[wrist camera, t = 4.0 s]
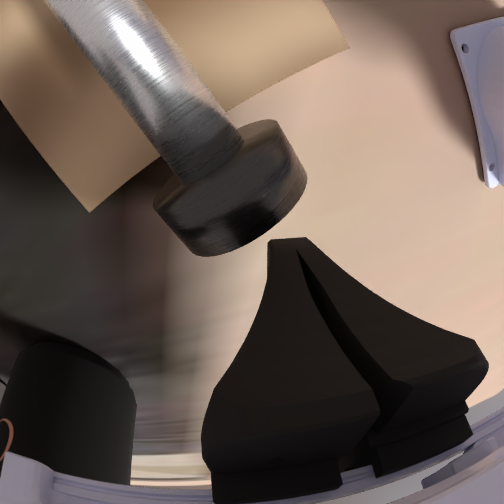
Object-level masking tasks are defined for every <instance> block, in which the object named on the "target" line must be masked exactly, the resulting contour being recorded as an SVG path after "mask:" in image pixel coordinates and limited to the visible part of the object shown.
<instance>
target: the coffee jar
mask: <svg viewBox="0 0 504 504" xmlns="http://www.w3.org/2000/svg"><path fill="white" fill-rule="evenodd" d="M136 408H137V404H136V401H135V397H134V394H133V390H132V389H131V388H130V386H129V383H128V381H127V380H126V379H125V377H124V376H123V375H122V374H121V372H120V371H118V370H117V369H116V368H115V367H113V366H112V365H111V364H109V363H108V362H107V361H105V360H103V359H102V358H100V357H98V356H96V355H94V354H92V353H91V352H89V351H86V350H83V349H80V348H78V347H75V346H72V345H69V344H63V343H58V342H39V343H37V344H35V345H33V346H31V347H29V348H27V349H25V350H23V351H22V352H21V353H20V354H19V355H18V358H17V360H16V362H15V365H14V367H13V370H12V373H11V375H10V378H9V381H8V383H7V386H6V389H5V392H4V395H3V398H2V401H1V404H0V477H1V472H2V466H3V461H4V457H5V452H7V451H9V452H12V453H15V454H18V455H21V456H24V457H27V458H30V459H33V460H36V461H38V462H40V463H42V464H44V465H46V466H48V467H49V468H51V469H52V470H53V471H54V472H58V473H62V474H66V475H71V476H75V477H80V478H85V479H90V480H95V481H101V482H107V483H114V484H121V485H129V486H130V477H131V461H132V448H133V436H134V426H135V417H136Z"/></svg>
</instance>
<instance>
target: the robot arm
mask: <svg viewBox="0 0 504 504" xmlns="http://www.w3.org/2000/svg"><path fill="white" fill-rule="evenodd" d="M450 39H451V42H452V45H453V48H454V50H455V53H456V56H457V59H458V62H459V65H460V68H461V71H462V74H463V78H464V81H465V84H466V88H467V91H468V95H469V99H470V103H471V107H472V111H473V115H474V120H475V124H476V129H477V134H478V140H479V145H480V151H481V157H482V164H483V172H484V180H485V185H486V186H487V187H489V188H491V189H492V188H494V187H495V186H497V185H498V184H501V185H502V186H504V16H503V17H499V18H494V19H490V20H486V21H482V22H478V23H475V24H471V25H467V26H464V27H460V28H457V29H454V30H452V31H451V33H450ZM462 45H463V48H464V50H463V51H462V48H461V46H462ZM489 166H490V167H489ZM488 368H489V363H488V361H487V360H486V358H485V356H484V355H483V353H482V352H481V350H480V348H479V347H478V345H477V343H476V342H475V340H473V339H470V338H468V337H465V336H462V335H459V334H456V333H453V332H450V331H447V330H444V329H442V328H439V327H437V326H435V325H432V324H430V323H428V322H425V321H423V320H421V319H419V318H417V317H415V316H413V315H411V314H409V313H407V312H405V311H404V310H402V309H400V308H398V307H396V306H394V305H393V304H391V303H389V302H388V301H386V300H384V299H383V298H381V297H380V296H378V295H377V294H375V293H374V292H372V291H371V290H369V289H368V288H366V287H365V286H363V285H362V284H361V283H360V282H358V281H357V280H356V279H354V278H353V277H352V276H350V275H349V274H348V273H347V272H345V271H344V270H343V269H342V268H340V267H339V266H338V265H337V264H336V263H335V262H333V261H332V260H331V259H330V258H329V257H328V256H327V255H325V254H324V253H323V252H322V251H321V250H320V249H319V248H318V247H317V246H316V245H314V244H313V243H312V242H311V241H310V240H309V239H308V238H306V237H301V238H286V239H272V240H270V241H269V242H268V250H267V282H266V286H265V289H264V293H263V297H262V300H261V303H260V306H259V309H258V312H257V314H256V317H255V319H254V321H253V324H252V326H251V328H250V331H249V333H248V335H247V337H246V339H245V341H244V343H243V344H242V346H241V348H240V350H239V351H238V353H237V355H236V357H235V358H234V360H233V362H232V363H231V365H230V367H229V368H228V370H227V371H226V372H225V374H224V375H223V377H222V378H221V380H220V381H219V382H218V384H217V385H216V387H215V388H214V390H213V393H212V396H211V399H210V402H209V405H208V408H207V411H206V414H205V417H204V421H203V426H202V433H201V445H202V458H203V460H204V462H205V463H206V465H207V467H208V468H209V470H210V472H211V482H212V489H211V490H184V489H183V490H182V489H160V488H148V487H137V486H129V485H121V484H114V483H107V482H101V481H95V480H90V479H85V478H80V477H75V476H71V475H66V474H62V473H58V472H54V471H53V470H52V469H51V468H49V467H48V466H46V465H44V464H42V463H40V462H38V461H36V460H33V459H30V458H27V457H24V456H21V455H18V454H15V453H12V452H9V451H7V452H5V457H4V461H3V466H2V472H1V477H0V504H315V503H320V502H324V501H329V500H334V499H338V498H341V497H346V496H350V495H353V494H357V493H361V492H364V491H367V490H370V489H374V488H377V487H380V486H383V485H386V484H389V483H392V482H395V481H397V480H400V479H403V478H405V477H408V476H411V475H413V474H416V473H418V472H420V471H423V470H425V469H428V468H430V467H432V466H434V465H437V464H438V463H441V462H443V461H445V460H447V459H449V458H451V457H453V456H455V455H457V454H459V453H461V452H463V451H464V453H463V455H461V456H460V457H458V458H456V459H454V460H453V461H451V462H450V463H448V464H447V465H446V466H445V467H443V468H442V469H440V470H439V471H437V472H436V473H433V474H432V475H430V476H428V477H426V478H425V479H423V480H422V482H421V483H422V486H423V490H421V491H418V492H416V493H414V494H411V495H409V496H407V497H404V498H401V499H399V500H396V501H394V502H391V503H388V504H504V407H502V408H501V409H499V410H497V411H496V412H494V413H492V414H490V415H489V416H487V417H485V418H483V419H481V420H480V421H478V422H476V423H474V424H472V425H469V423H468V421H467V419H466V416H465V414H466V413H467V412H468V410H469V408H468V406H467V404H466V402H465V400H466V399H467V398H468V397H469V396H470V395H471V393H472V392H473V391H474V390H475V389H476V388H477V387H478V385H479V384H480V383H481V382H482V380H483V379H484V378H485V376H486V374H487V372H488Z"/></svg>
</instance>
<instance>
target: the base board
mask: <svg viewBox="0 0 504 504" xmlns="http://www.w3.org/2000/svg"><path fill="white" fill-rule="evenodd" d="M143 1H144V2H145V3H146V5H147V6H148V7H149V8H150V10H151V11H152V12H153V14H154V15H155V16H156V17H157V19H158V20H159V21H160V23H161V24H162V25H163V27H164V28H165V29H166V30H167V32H168V33H169V34H170V36H171V37H172V38H173V40H174V41H175V42H176V44H177V45H178V47H179V48H180V49H181V51H182V52H183V53H184V55H185V56H186V57H187V59H188V60H189V62H190V63H191V64H192V66H193V67H194V68H195V70H196V71H197V73H198V74H199V75H200V77H201V78H202V80H203V81H204V83H205V84H206V85H207V87H208V88H209V90H210V91H211V92H212V94H213V95H214V97H215V98H216V100H217V101H218V103H219V104H220V106H221V107H222V108H223V110H224V111H225V112H227V111H229V110H230V109H232V108H234V107H235V106H237V105H239V104H240V103H242V102H244V101H245V100H247V99H249V98H251V97H252V96H254V95H256V94H258V93H259V92H261V91H263V90H265V89H267V88H268V87H270V86H272V85H274V84H276V83H278V82H280V81H281V80H283V79H285V78H287V77H289V76H291V75H293V74H295V73H297V72H299V71H301V70H303V69H305V68H307V67H309V66H311V65H313V64H315V63H317V62H320V61H322V60H324V59H326V58H328V57H330V56H333V55H335V54H337V53H339V52H342V51H344V50H346V49H349V48H350V47H349V45H348V44H347V42H346V40H345V38H344V36H343V34H342V33H341V31H340V29H339V27H338V26H337V24H336V22H335V20H334V19H333V17H332V15H331V14H330V12H329V10H328V9H327V7H326V6H325V4H324V2H323V1H322V0H143ZM0 100H1V101H2V103H3V104H4V105H5V107H6V108H7V110H8V111H9V113H10V114H11V115H12V117H13V118H14V120H15V121H16V122H17V124H18V125H19V127H20V128H21V129H22V131H23V132H24V133H25V135H26V136H27V137H28V139H29V140H30V141H31V143H32V144H33V145H34V146H35V148H36V149H37V150H38V152H39V153H40V154H41V155H42V157H43V158H44V159H45V161H46V162H47V163H48V164H49V166H50V167H51V168H52V169H53V170H54V172H55V173H56V174H57V175H58V177H59V178H60V179H61V180H62V181H63V183H64V184H65V185H66V186H67V187H68V188H69V190H70V191H71V192H72V193H73V194H74V196H75V197H76V198H77V199H78V200H79V201H80V202H81V204H82V205H83V206H84V207H85V208H86V209H87V210H88V212H89V213H90V212H91V211H92V210H93V209H94V208H95V207H96V206H98V205H99V204H100V203H101V202H102V201H104V200H105V199H106V198H107V197H108V196H109V195H111V194H112V193H113V192H114V191H116V190H117V189H118V188H119V187H121V186H122V185H123V184H124V183H126V182H127V181H128V180H129V179H131V178H132V177H133V176H134V175H136V174H137V173H138V172H140V171H141V170H142V169H144V168H145V167H146V166H148V165H149V164H150V163H152V162H153V161H154V160H156V159H157V158H158V157H160V156H161V155H160V154H159V153H158V151H157V150H156V149H155V147H154V146H153V145H152V144H151V142H150V141H149V140H148V138H147V137H146V136H145V134H144V133H143V132H142V131H141V129H140V128H139V127H138V125H137V124H136V123H135V121H134V120H133V119H132V118H131V116H130V115H129V114H128V112H127V111H126V110H125V108H124V107H123V106H122V105H121V103H120V102H119V101H118V99H117V98H116V97H115V95H114V94H113V93H112V91H111V90H110V89H109V87H108V86H107V85H106V83H105V82H104V81H103V80H102V78H101V77H100V76H99V74H98V73H97V72H96V70H95V69H94V68H93V66H92V65H91V64H90V62H89V61H88V60H87V58H86V57H85V56H84V54H83V53H82V52H81V50H80V49H79V48H78V46H77V45H76V44H75V42H74V41H73V40H72V38H71V37H70V36H69V34H68V33H67V32H66V30H65V29H64V28H63V26H62V25H61V24H60V22H59V21H58V19H57V18H56V17H55V15H54V14H53V13H52V11H51V10H50V9H49V7H48V6H47V5H46V3H45V2H44V0H0Z"/></svg>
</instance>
